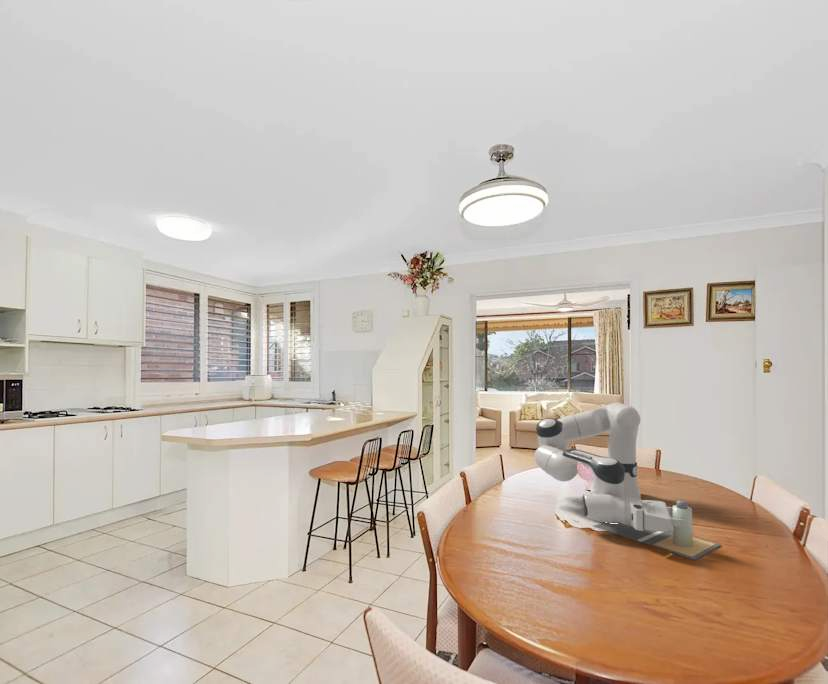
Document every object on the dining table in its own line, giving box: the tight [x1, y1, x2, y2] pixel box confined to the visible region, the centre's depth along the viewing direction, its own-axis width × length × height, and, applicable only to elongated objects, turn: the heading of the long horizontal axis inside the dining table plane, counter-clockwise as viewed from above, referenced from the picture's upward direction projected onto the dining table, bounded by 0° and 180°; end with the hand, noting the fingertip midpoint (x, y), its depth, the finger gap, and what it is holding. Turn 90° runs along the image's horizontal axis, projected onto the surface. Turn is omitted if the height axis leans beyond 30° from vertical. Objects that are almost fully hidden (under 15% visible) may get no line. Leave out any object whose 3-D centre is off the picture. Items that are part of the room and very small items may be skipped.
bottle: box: [672, 499, 694, 547], centre depth 141 cm, size 5×5×13 cm
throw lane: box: [593, 522, 721, 561], centre depth 148 cm, size 32×18×1 cm, turn 36°
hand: (685, 517), depth 141 cm, fingers open, 8 cm apart
